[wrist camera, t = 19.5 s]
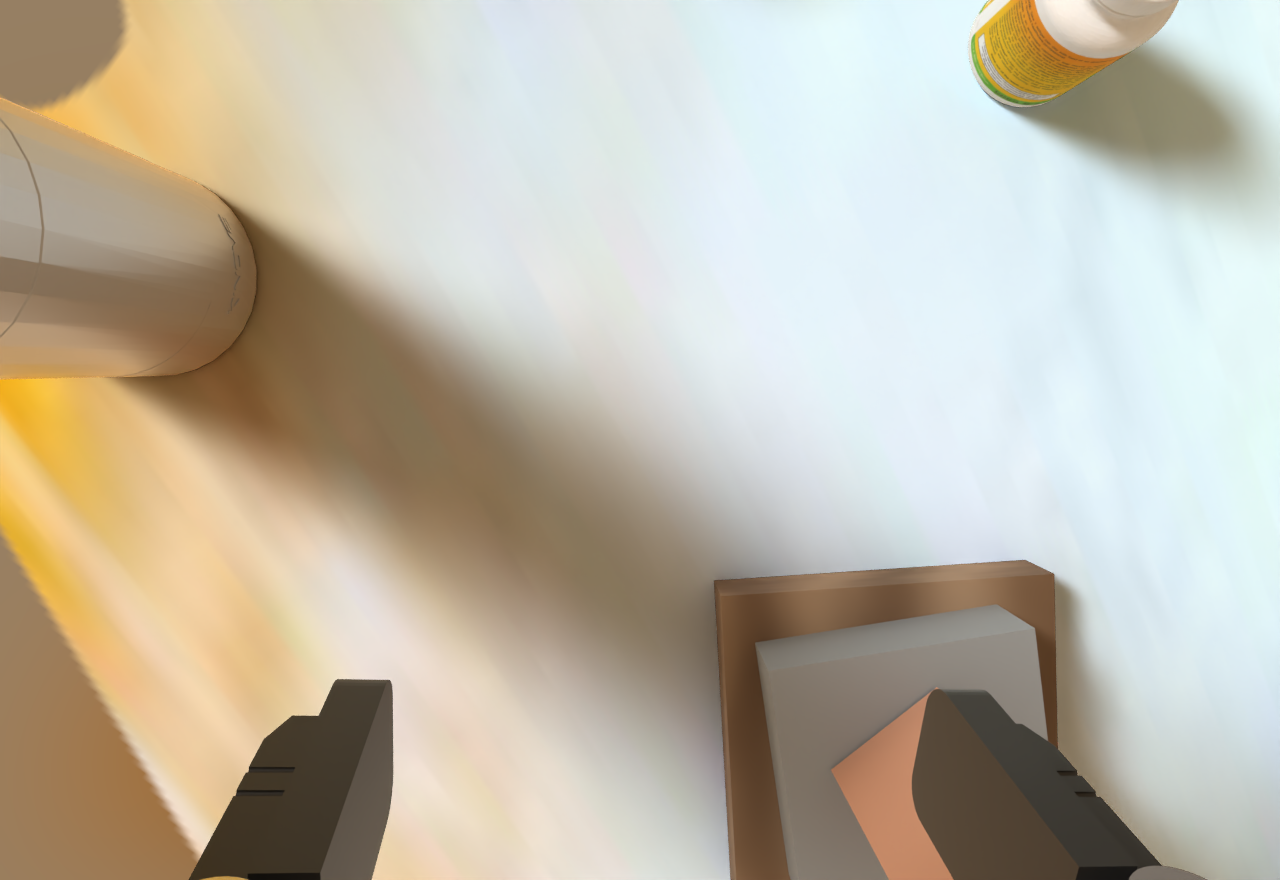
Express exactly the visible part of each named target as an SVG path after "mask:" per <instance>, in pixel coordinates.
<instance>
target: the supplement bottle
mask: <svg viewBox="0 0 1280 880" xmlns="http://www.w3.org/2000/svg"><path fill="white" fill-rule="evenodd" d="M1178 1H1179V0H988V1H987V2H986V4H985V5H984V6H983V7H982V9H981V10H980V11H979V13H978V15H977V16H976V18H975V20H974V22H973V25H972V27H971V31H970V34H969V41H968V56H969V62H970V66H971V69H972V72H973V74H974V77H975V78H976V80H977V82H978V83H979V85H980V86H981V87H982V89H983V90H984V91H985V92H986V93H987V94H989V95H990V96H991V97H993V98H994V99H996V100H998V101H1000V102H1002V103H1004V104H1007V105H1010V106H1015V107H1033V106H1038V105H1042V104H1045V103H1048V102H1050V101H1052V100H1054V99H1055V98H1057V97H1059V96H1061V95H1062V94H1064V93H1066V92H1067V91H1069V90H1071V89H1072V88H1073V87H1075V86H1077V85H1078V84H1080V83H1081V82H1083V81H1085V80H1086V79H1088V78H1089V77H1091V76H1093V75H1094V74H1096V73H1097V72H1099V71H1101V70H1102V69H1104V68H1105V67H1107V66H1109V65H1110V64H1112V63H1114V62H1115V61H1117V60H1118V59H1120V58H1122V57H1123V56H1125V55H1127V54H1128V53H1130V52H1131V51H1133V50H1135V49H1136V48H1138V47H1139V46H1141V45H1142V44H1144V43H1145V42H1146V41H1148V40H1149V39H1150V38H1152V37H1153V36H1154V35H1155V34H1156V33H1157V32H1158V31H1159V30H1160V29H1161V28H1162V27H1163V26H1164V25H1165V23H1166V22H1167V21H1168V19H1169V18H1170V16H1171V15H1172V13H1173V11H1174V9H1175V7H1176V5H1177V3H1178Z"/></svg>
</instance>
